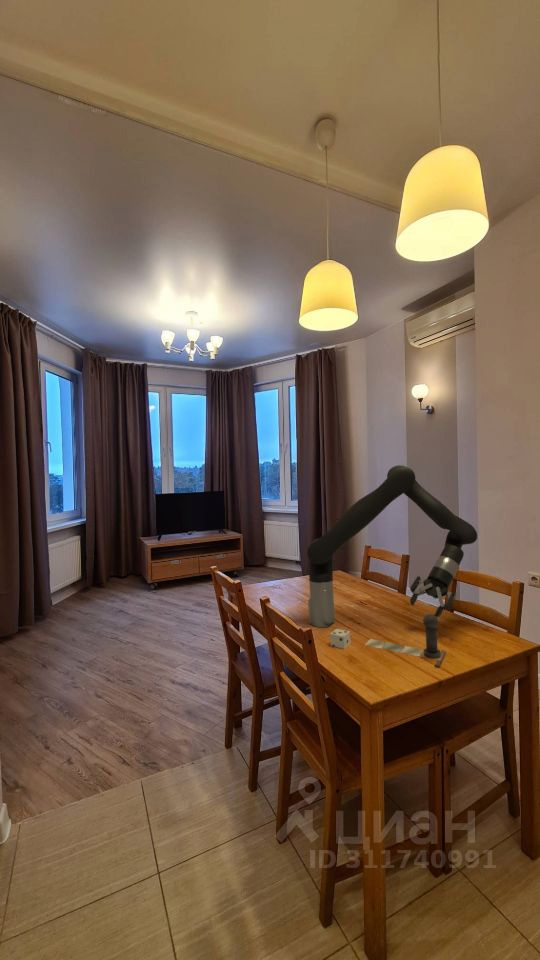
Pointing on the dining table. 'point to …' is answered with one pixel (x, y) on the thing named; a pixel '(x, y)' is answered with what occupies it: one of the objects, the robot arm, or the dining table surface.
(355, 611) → the dining table surface
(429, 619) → the pawn
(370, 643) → the board
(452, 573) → the robot arm
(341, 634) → the die
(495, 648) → the dining table surface
